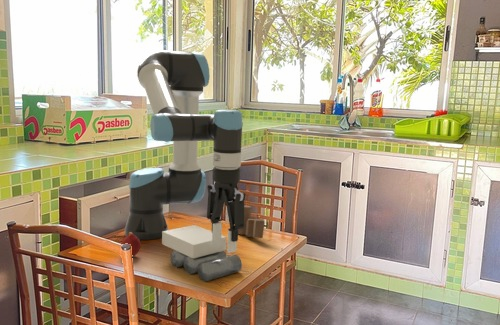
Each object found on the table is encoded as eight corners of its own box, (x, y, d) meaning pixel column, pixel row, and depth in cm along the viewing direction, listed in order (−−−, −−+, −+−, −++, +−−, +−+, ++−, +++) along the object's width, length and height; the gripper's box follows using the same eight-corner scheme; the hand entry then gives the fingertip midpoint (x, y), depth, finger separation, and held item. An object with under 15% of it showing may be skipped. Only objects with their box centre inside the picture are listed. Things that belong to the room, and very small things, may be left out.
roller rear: (169, 250, 144) (178, 250, 140) (201, 243, 152) (210, 242, 149) (171, 267, 144) (181, 267, 140) (204, 259, 152) (213, 258, 148)
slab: (162, 244, 147) (162, 231, 146) (194, 237, 155) (194, 224, 154) (193, 258, 135) (193, 244, 135) (226, 249, 143) (226, 236, 143)
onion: (133, 252, 153) (133, 228, 152) (144, 257, 150) (144, 232, 149) (117, 257, 149) (117, 232, 148) (129, 261, 145) (129, 236, 144)
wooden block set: (267, 243, 168) (270, 214, 167) (243, 242, 166) (246, 212, 165) (255, 229, 185) (258, 203, 184) (233, 228, 183) (236, 201, 182)
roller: (205, 285, 132) (195, 272, 135) (237, 275, 140) (228, 262, 143) (211, 273, 130) (201, 259, 132) (244, 263, 138) (234, 251, 140)
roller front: (181, 261, 140) (189, 253, 137) (214, 253, 148) (221, 245, 145) (188, 277, 138) (196, 269, 135) (221, 267, 146) (229, 260, 143)
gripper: (194, 162, 135) (193, 241, 139) (239, 174, 121) (236, 261, 125) (215, 160, 140) (213, 237, 144) (260, 171, 126) (257, 255, 130)
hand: (224, 248), depth 135 cm, fingers open, 6 cm apart
